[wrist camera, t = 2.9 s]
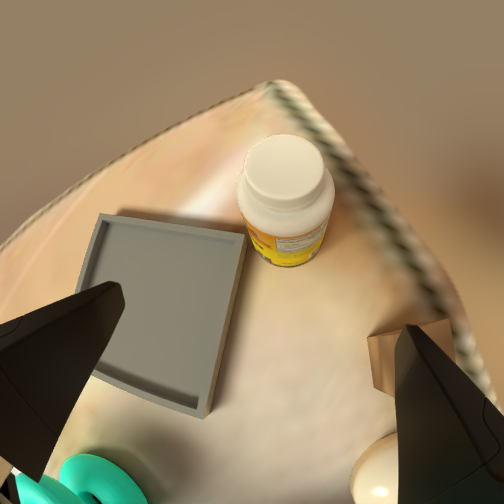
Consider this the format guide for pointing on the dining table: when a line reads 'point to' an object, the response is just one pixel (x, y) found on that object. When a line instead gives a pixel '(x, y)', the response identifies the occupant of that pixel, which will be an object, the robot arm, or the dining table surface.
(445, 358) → the robot arm
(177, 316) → the slate tray
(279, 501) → the dining table surface
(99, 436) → the dining table surface
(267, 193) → the supplement bottle
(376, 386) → the walnut block
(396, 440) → the cream rounded block
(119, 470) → the donuts
